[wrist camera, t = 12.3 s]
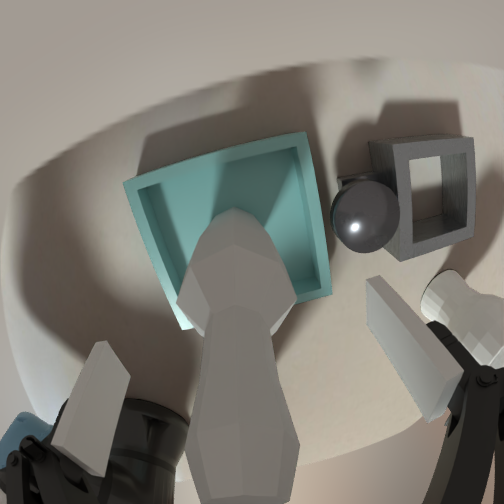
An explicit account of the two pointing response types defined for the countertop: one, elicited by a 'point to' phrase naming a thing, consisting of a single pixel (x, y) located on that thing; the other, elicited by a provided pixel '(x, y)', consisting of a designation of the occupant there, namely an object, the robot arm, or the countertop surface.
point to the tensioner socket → (406, 198)
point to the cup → (467, 316)
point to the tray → (243, 197)
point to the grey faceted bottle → (239, 365)
